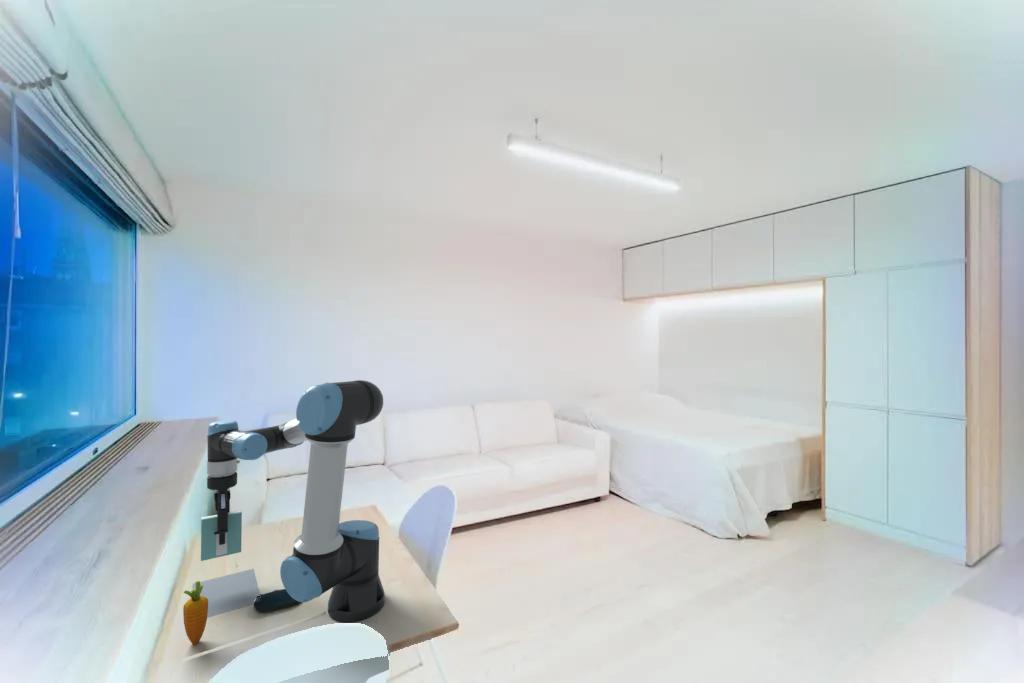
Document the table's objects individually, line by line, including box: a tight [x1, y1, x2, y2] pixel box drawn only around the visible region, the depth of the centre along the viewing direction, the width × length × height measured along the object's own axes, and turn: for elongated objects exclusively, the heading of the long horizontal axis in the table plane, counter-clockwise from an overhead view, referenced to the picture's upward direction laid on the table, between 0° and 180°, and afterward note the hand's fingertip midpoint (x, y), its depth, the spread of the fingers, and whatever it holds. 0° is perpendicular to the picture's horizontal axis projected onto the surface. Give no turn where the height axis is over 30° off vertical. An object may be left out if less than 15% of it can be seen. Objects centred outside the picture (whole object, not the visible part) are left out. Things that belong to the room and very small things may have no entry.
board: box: [200, 510, 243, 562], centre depth 132 cm, size 2×10×12 cm, turn 125°
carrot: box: [182, 580, 208, 646], centre depth 109 cm, size 5×5×15 cm
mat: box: [192, 568, 261, 618], centre depth 130 cm, size 22×16×1 cm
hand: (221, 552), depth 132 cm, fingers closed on board, 2 cm apart
